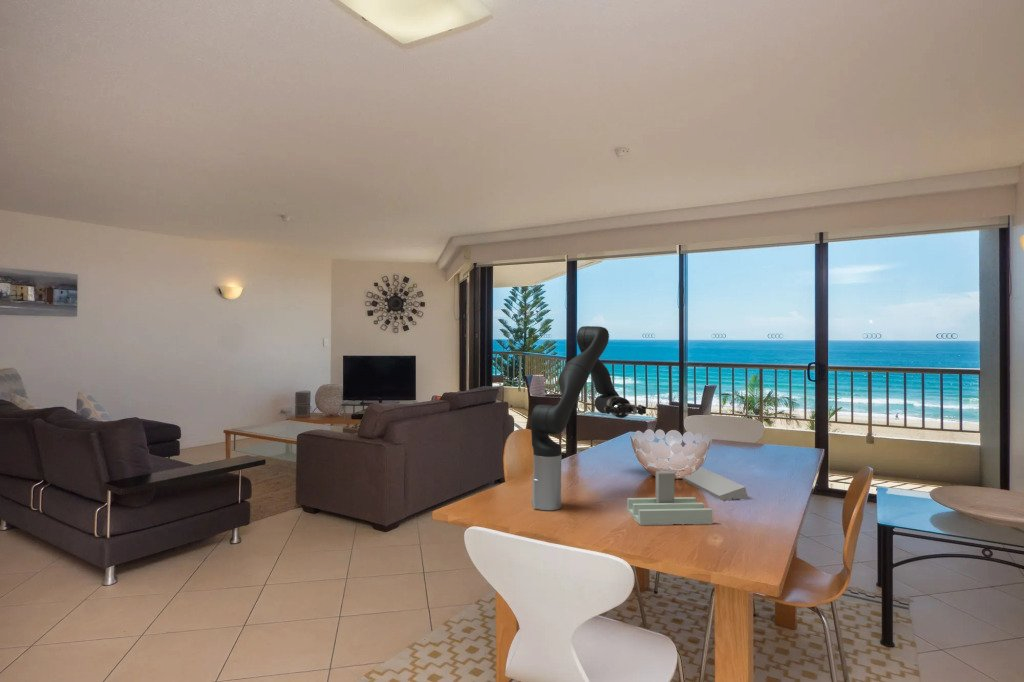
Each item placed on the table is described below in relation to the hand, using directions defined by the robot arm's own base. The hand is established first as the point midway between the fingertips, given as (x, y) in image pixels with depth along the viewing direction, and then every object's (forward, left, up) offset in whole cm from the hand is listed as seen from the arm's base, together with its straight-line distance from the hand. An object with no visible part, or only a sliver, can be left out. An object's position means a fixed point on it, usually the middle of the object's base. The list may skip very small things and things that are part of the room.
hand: (630, 411), depth 192 cm
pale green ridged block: (+6, -21, -30) cm, 37 cm away
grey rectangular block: (+6, -18, -29) cm, 34 cm away
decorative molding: (+34, +13, -31) cm, 48 cm away
